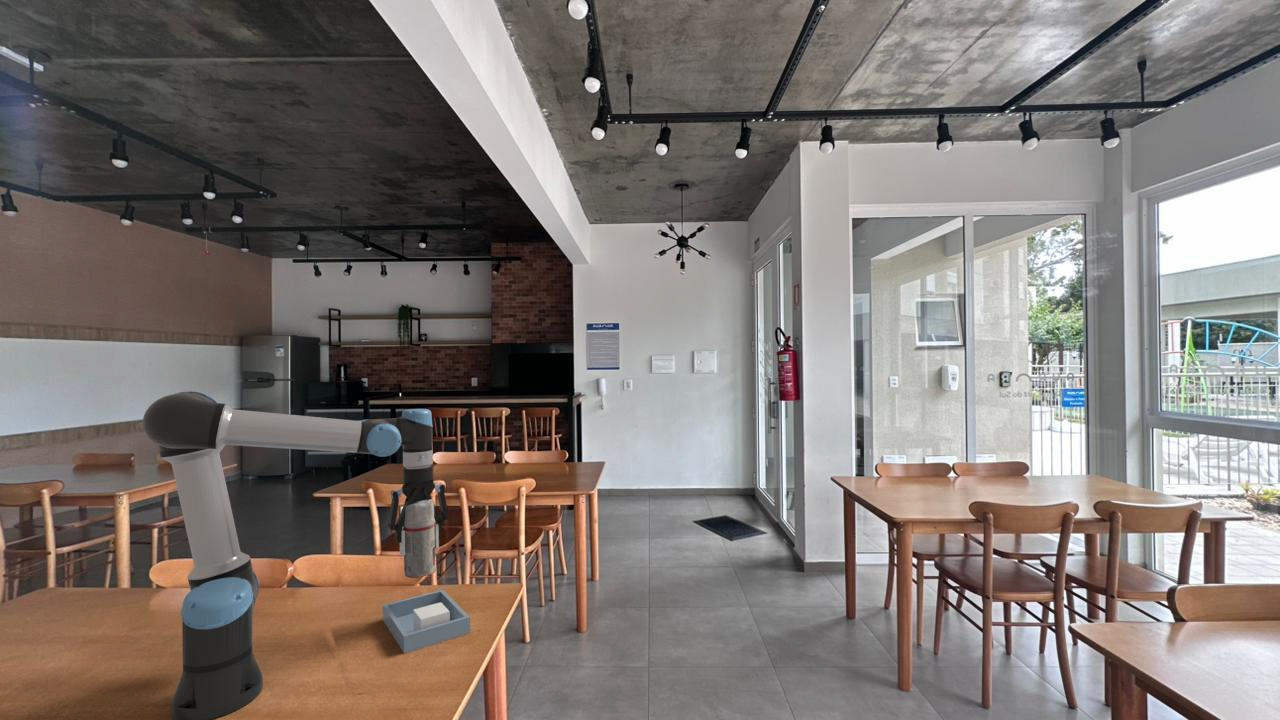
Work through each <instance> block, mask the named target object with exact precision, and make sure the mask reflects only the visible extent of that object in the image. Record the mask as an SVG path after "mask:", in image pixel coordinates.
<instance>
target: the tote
mask: <svg viewBox="0 0 1280 720" xmlns="http://www.w3.org/2000/svg"><path fill="white" fill-rule="evenodd" d="M440 602H441V603H442V604H443V605H444V606H445V607H446V608H447V609H448V610H449V611H450V621H449V622H445V623H442V624H439V625H435V626H432V627H428V628H425V629H421V630H418V631H415V632H414V629H413V610H414V609H418V608H421V607H425V606H429V605H432V604H436V603H440ZM382 621H383V623H384V624H385V626H386V628H387V629H388V630H389V632H390V634H391V636H392V637H393V638H394V640H395V642H396V643H397V645H398V646H399V647H400V649H401V651H402V653H403V654H407V653H411V652H414V651H417V650H420V649H423V648H427V647H430V646H433V645H437V644H439V643H444V642H446V641H448V640H452V639H455V638H460V637H463V636H464V635H467V634H471V616H470V615H469V614H468V613H467V612H466V611H465V610H463V608H462V607H461V606H460V605H459V604H457V602H456V601H455V600H454V599H453V598H452V597H451V596H450V595H449V594H448V593H447V592H446V591H445V590H444V589H440V590H436V591H431V592H428V593H425V594H420V595H417V596H413V597H409V598H405V599H402V600H398V601H394V602H390V603H386V604H382Z"/></svg>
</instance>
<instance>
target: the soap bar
mask: <svg viewBox="0 0 1280 720" xmlns="http://www.w3.org/2000/svg"><path fill="white" fill-rule="evenodd" d="M449 621H450V611H449V610H448V609H447V608H446V607H445V606H444V605H443V604H442V603H441V602H440V603H436V604H432V605H429V606H425V607H421V608H418V609H414V610H413V629H414V632H415V631H418V630H421V629H425V628H428V627H432V626H435V625H439V624H442V623H445V622H449Z"/></svg>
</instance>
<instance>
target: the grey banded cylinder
mask: <svg viewBox="0 0 1280 720" xmlns="http://www.w3.org/2000/svg"><path fill="white" fill-rule="evenodd" d="M434 504H435V501H434V499H433V498H432V499H430V500H427V499H426V500H422V501H418V502H413V504H411V505H408V506H407V507H406V505H405V508H406V509H405V521H404V525H403V529H404V530H405V555H404V556H403V566H404V567H403V570H404V576H405V577H406V578H411V579H414V578H415V579H416V578H417V579H419V578H424V577H426V576H431V575H433V574H435V572H436V571H437V570H436V548H435V522H436V521H435V519H434Z"/></svg>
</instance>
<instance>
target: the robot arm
mask: <svg viewBox="0 0 1280 720" xmlns="http://www.w3.org/2000/svg"><path fill="white" fill-rule="evenodd" d="M433 427H434V426H433V417H432V411H431V410H430V409H427V408H411V409H410V408H409V409H404V410H403V411H402V413H401V416H400V417H396V418H395V417H394V418H377V419H376V418H375V419H373V418H372V419H369V418H367V419H361V420H352V419H340V418H332V417H331V418H328V417H321V416H319V417H318V416H317V417H316V416H309V415H297V414H288V413H275V412H274V413H273V412H267V411H266V412H264V411H257V410H256V411H254V410H244V409H234V408H232V407H231V406H230V405H229V404H228V403H221V402H220V403H219V402H217V401H216V400H215V399H214V398H213V397H211V396H210V395H208V394H205V393H203V392H198V391H181V392H176V393H172V394H169V395H165V396H162V397H160V398H158V399H157V400H155V401H154V402H153V403H151V404H150V405H149V406H148V408H147V409H146V411H144V415H143V418H142V428H143V432H144V433H145V435H146V437H147V438H148V439H149V440H150V441H152V443H154V444H156V445H157V447H158V452H159V455H160V459H161V460H163V461H166V462H168V463H170V464H171V467H172V473H173V476H174V481H175V486H176V489H177V495H178V499H179V502H180V503H179V504H180V508H181V512H182V517H183V522H184V526H185V531H186V535H187V539H188V544H189V549H190V552H191V553H190V554H191V557H192V561H193V568H192V569H191V571H190V572H189V573H188V574H187V580H188V585H189V590H190V591H189V592H188V593H187V594H186V595H185V597H184V599H183V601H182V607H181V610H180V616H181V620H182V627H181V628H182V638H181V639H182V673H181V676H180V679H179V681H178V684H177V687H176V689H175V692H174V696H173V698H172V701H171V716H172V718H173V719H174V720H213V719H218V718H219V717H222V716H225V715H228V714H230V713H233V712H235V711H238V710H239V709H240V708H243V707H245V706H246V705H248V704H249V703H251V702H252V701H253V700H255V699H256V698H257V697H258V696H259V695H260V694H261V693H262V691H263V688H264V682H263V681H264V680H263V679H264V678H263V673H262V672H261V671H262V670H261V669H260V667H259V665H258V662H257V660H256V658H255V656H254V653H253V652H254V651H253V614H254V609H255V605H256V603H257V598H258V596H259V590H260V581H259V578H258V576H257V574H256V573H255V572H254V569H253V568H254V567H253V565H252V559H251V556H250V555H248V554H246V553H244V552H242V551H241V548H240V542H239V538H238V532H237V529H236V525H235V524H236V523H235V520H234V515H233V510H232V507H231V500H230V496H229V492H228V486H227V482H226V478H225V474H224V470H223V465H222V460H221V456H220V454H221V451H223V449H224V448H225V446H239V447H240V446H241V447H255V448H256V447H259V448H274V449H286V450H287V449H291V450H304V451H305V450H307V451H319V452H320V451H321V452H323V451H324V452H336V453H337V452H338V453H340V452H341V453H353V454H355V453H356V454H366V455H367V454H368V455H373V456H376V457H389V456H392V455H393V454H395V453H397V452H398V450H399V449H400V447H401V446H402V466H403V467H404V468H403V469H402V479H403V480H402V486H401V488H400V489H397V490H395V489H394V490H391V491H390V496H391V502H390V509H389V515H388V521H387V528H388V529H389V530H390V531H394V532H395V537H394V538H395V540H394V541H395V542H396V543H397V544H399V554H400V555H401V556H402V557H404V555H405V530H404V529H403V525H404V521H405V509H406V508H405V505H406V507H407V506H408V505H411V504H413V502H418V501H422V500H426V499H427V500H430V499H433V498H432V496H431V495H432V493H433V491H434V490H435V492H436V494H437V499H438V504H439V508H440V513H441V515H440V513H439V511H438V509H437V507H436V504H435V503H434V522H435V550H436V549H440V541H439V540H440V538H439V536H440V535H442V533H443V524H444V521H448V520H449V519H450V515H449V510H448V504H447V500H446V494H445V491H446V485H445V484H443V483H437V484H436V483H435V482H434V467H433V466H432V465H433V463H434V459H433V458H434V457H433V452H434V451H433V447H434V446H433ZM402 494H403V495H404V497H406V498H405V499H404V504H403V506H402V509H401V511H400V513H399V516H398V517H397V515H398V509H399V503H400V499H401V497H402ZM397 518H398V519H397Z"/></svg>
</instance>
